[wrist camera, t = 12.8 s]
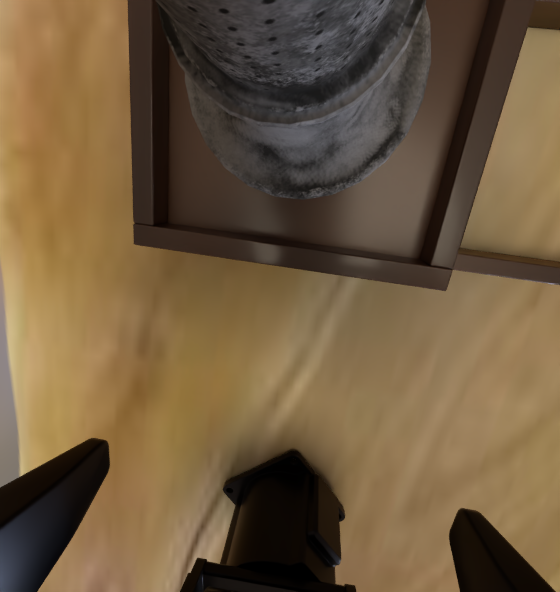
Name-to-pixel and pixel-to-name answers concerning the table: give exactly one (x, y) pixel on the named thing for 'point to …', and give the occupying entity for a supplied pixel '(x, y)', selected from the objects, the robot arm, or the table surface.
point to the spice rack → (353, 200)
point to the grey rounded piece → (301, 85)
